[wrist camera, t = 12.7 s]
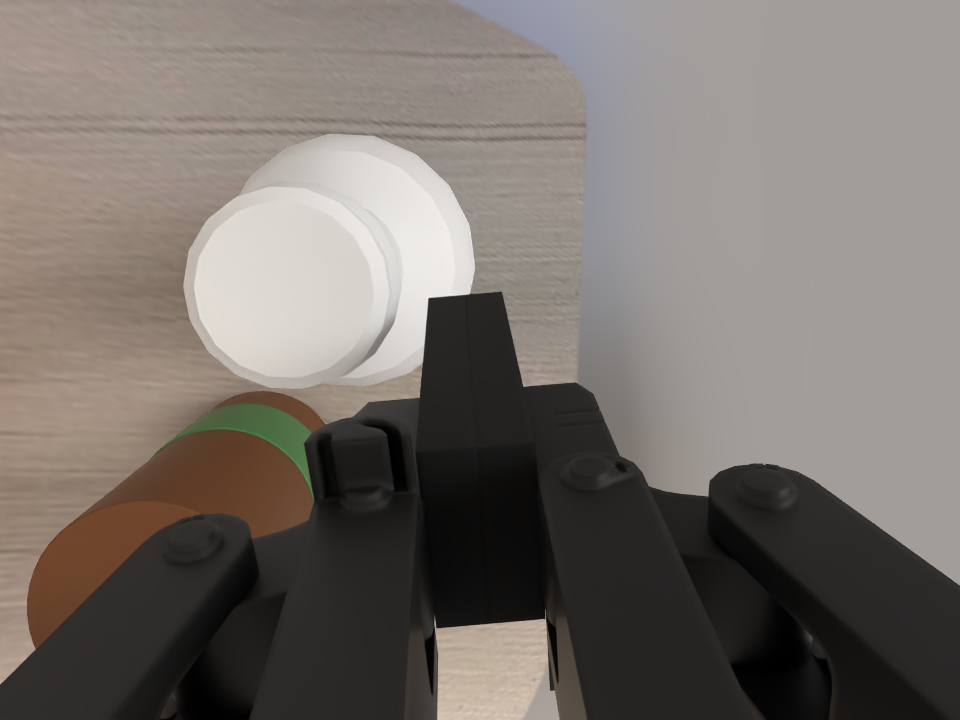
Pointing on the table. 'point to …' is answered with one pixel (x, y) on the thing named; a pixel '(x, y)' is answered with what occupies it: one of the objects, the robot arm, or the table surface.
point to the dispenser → (184, 497)
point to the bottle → (328, 265)
